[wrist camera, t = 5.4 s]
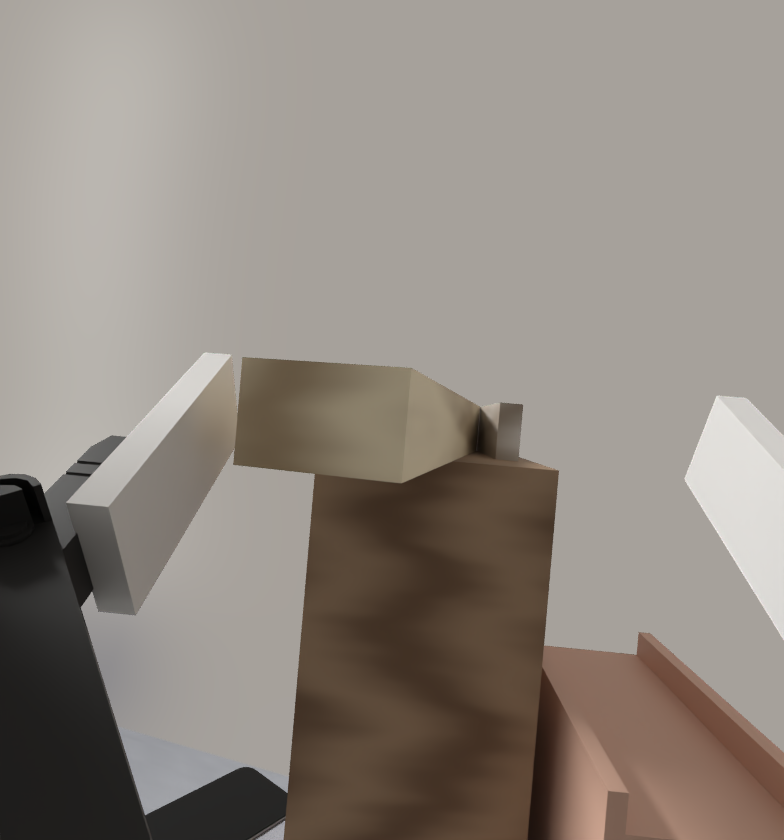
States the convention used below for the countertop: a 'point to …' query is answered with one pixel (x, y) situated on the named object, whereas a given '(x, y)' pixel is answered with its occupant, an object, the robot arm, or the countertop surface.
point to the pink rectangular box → (647, 753)
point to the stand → (424, 648)
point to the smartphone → (222, 810)
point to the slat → (349, 420)
